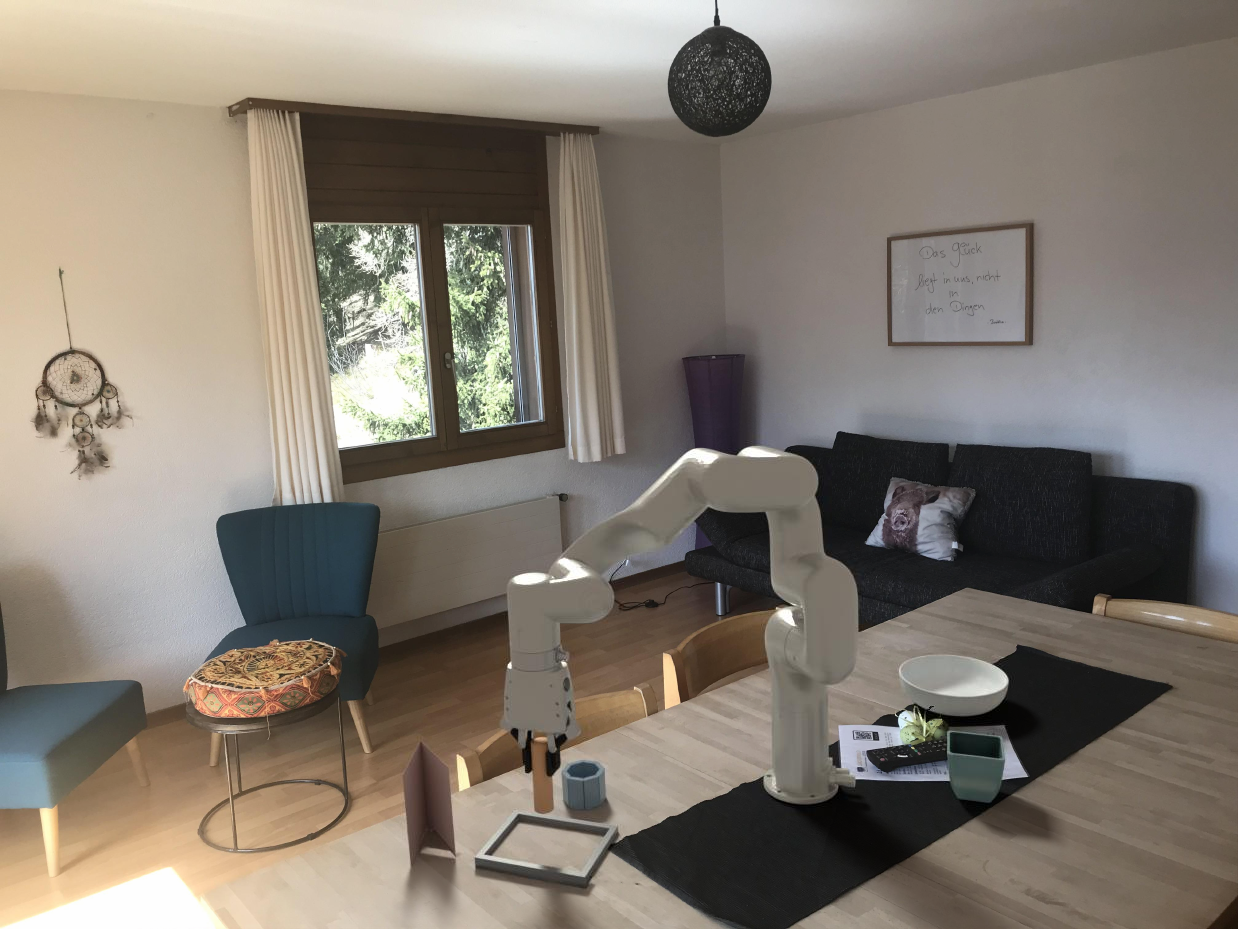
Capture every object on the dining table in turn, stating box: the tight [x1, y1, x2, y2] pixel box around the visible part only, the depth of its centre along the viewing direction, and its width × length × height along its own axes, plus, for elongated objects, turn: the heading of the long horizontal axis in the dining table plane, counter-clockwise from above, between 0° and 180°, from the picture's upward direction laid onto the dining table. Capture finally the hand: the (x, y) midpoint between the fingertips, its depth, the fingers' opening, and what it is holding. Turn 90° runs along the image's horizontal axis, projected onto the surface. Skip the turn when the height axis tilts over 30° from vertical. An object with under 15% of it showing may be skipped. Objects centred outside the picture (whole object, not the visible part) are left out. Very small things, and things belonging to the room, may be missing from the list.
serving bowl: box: [898, 654, 1010, 717], centre depth 191 cm, size 21×21×7 cm
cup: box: [561, 759, 607, 811], centre depth 160 cm, size 7×7×6 cm
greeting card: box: [401, 739, 457, 866], centre depth 149 cm, size 11×7×15 cm, turn 178°
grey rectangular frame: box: [474, 809, 619, 889], centre depth 146 cm, size 18×14×2 cm
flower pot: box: [946, 730, 1006, 804], centre depth 157 cm, size 9×9×9 cm
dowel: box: [531, 736, 555, 815], centre depth 144 cm, size 3×3×11 cm
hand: (542, 770), depth 144 cm, fingers closed on dowel, 3 cm apart
